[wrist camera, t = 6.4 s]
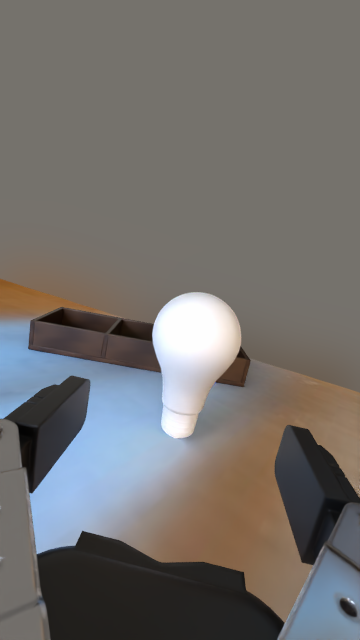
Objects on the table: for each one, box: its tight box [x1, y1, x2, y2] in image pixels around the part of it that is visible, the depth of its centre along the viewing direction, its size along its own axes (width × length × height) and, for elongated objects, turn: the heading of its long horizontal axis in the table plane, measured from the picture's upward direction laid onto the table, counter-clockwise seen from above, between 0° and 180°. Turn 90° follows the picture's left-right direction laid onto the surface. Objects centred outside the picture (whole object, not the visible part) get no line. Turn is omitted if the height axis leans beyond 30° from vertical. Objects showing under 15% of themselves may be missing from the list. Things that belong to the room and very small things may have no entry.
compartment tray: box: [28, 307, 250, 387], centre depth 36 cm, size 25×8×3 cm, turn 90°
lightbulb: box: [152, 292, 241, 439], centre depth 21 cm, size 6×6×11 cm
